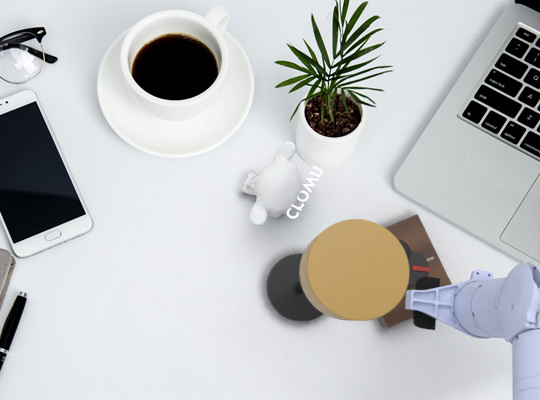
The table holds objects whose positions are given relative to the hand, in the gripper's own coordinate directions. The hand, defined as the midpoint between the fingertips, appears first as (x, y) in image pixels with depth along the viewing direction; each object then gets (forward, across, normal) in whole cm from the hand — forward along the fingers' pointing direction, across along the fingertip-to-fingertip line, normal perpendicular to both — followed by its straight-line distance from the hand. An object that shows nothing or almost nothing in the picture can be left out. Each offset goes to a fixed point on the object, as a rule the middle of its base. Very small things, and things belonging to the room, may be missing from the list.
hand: (449, 309), depth 73 cm
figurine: (+10, +21, -13) cm, 27 cm away
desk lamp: (+9, +17, -1) cm, 19 cm away
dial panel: (+9, +4, -5) cm, 11 cm away
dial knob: (+6, +4, -5) cm, 9 cm away
